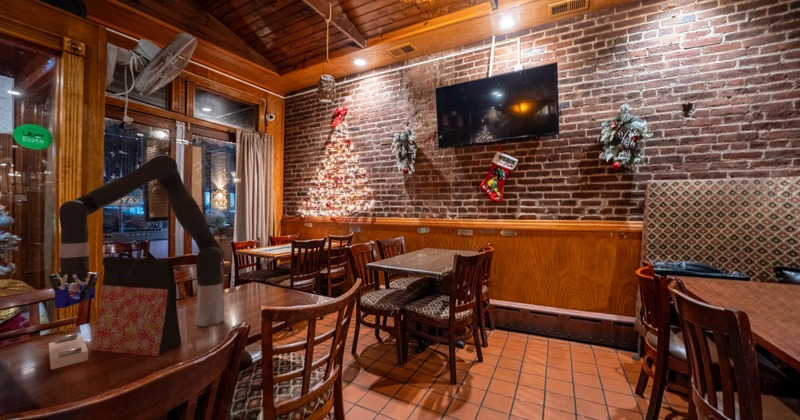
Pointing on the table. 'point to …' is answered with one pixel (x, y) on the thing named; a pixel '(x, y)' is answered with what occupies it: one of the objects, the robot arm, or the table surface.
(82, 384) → the table surface
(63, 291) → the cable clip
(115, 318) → the gift bag
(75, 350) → the white slotted block
